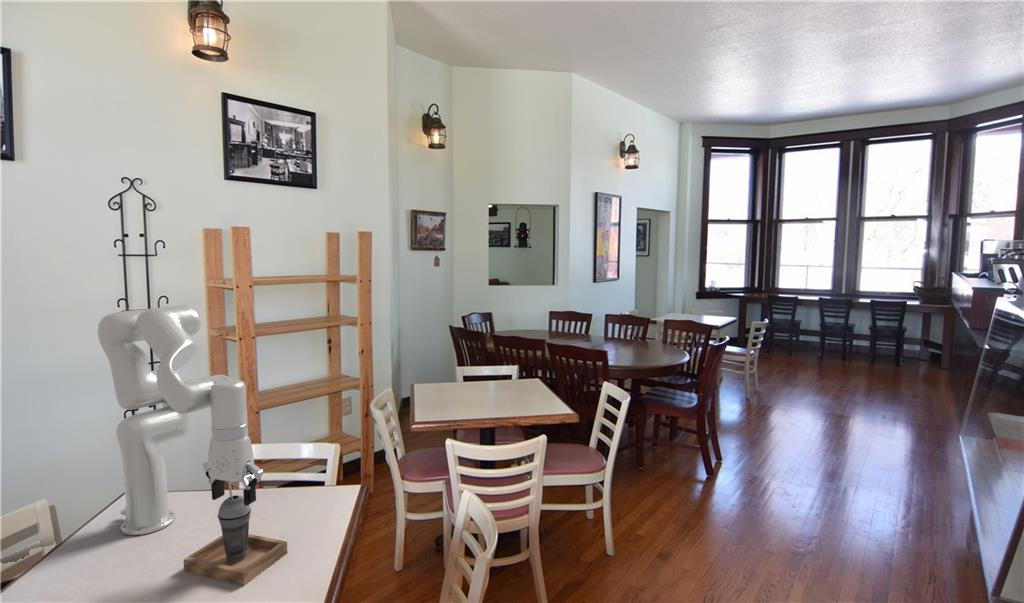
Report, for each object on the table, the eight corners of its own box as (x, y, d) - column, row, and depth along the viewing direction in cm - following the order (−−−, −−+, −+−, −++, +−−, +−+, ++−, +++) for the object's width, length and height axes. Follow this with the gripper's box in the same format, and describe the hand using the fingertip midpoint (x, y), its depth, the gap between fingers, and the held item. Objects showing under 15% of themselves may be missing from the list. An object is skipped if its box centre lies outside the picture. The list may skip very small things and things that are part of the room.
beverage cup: (239, 568, 129) (235, 487, 127) (213, 564, 130) (208, 484, 128) (259, 551, 136) (256, 474, 134) (234, 548, 137) (230, 472, 135)
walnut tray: (184, 571, 129) (183, 559, 129) (231, 541, 142) (230, 530, 142) (244, 585, 124) (243, 573, 123) (287, 552, 137) (286, 541, 136)
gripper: (189, 433, 129) (193, 502, 130) (247, 441, 123) (250, 512, 125) (215, 423, 136) (218, 489, 138) (271, 430, 131) (274, 498, 132)
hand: (234, 500), depth 131 cm, fingers open, 9 cm apart
